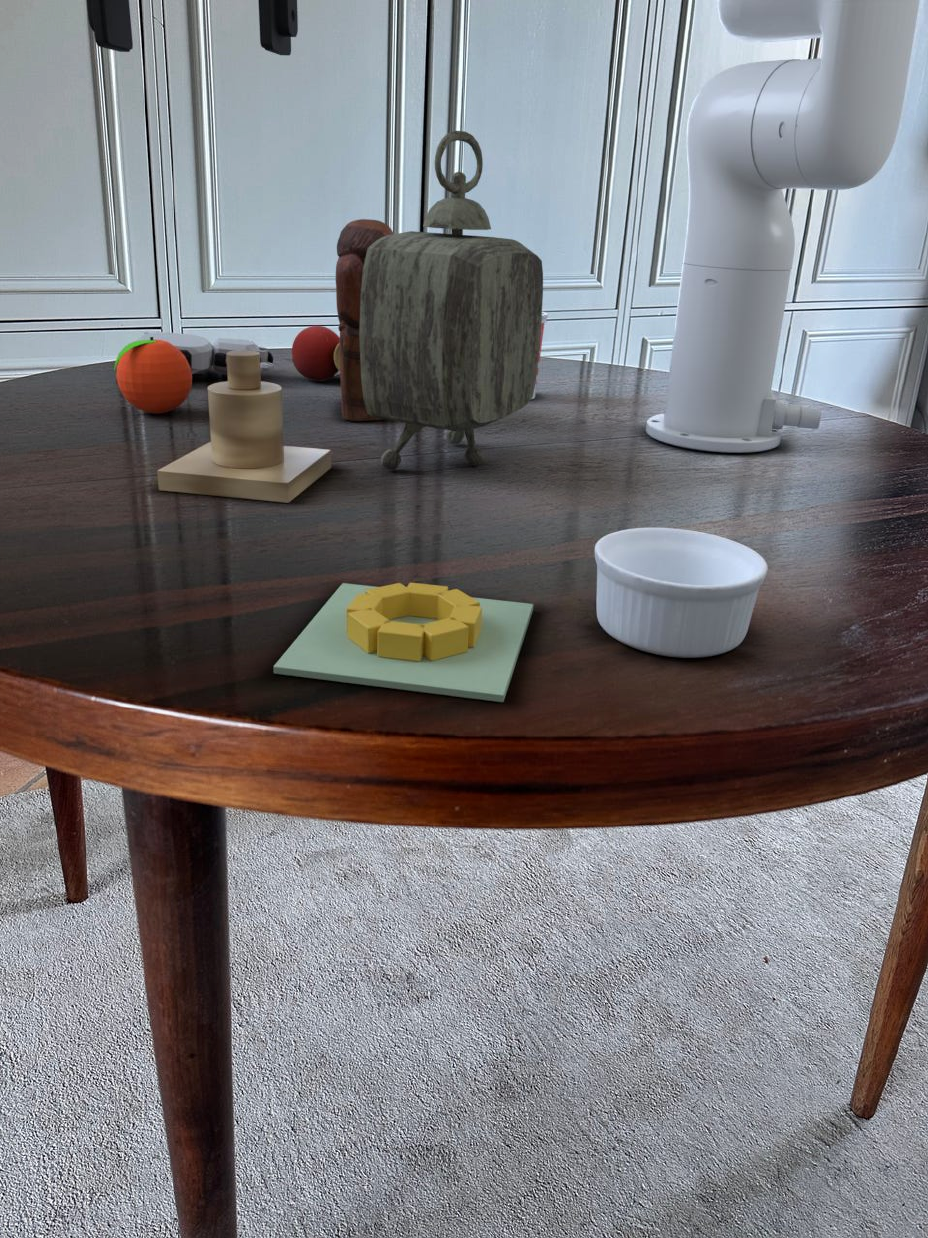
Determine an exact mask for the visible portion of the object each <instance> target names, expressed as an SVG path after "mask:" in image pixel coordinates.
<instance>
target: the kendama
mask: <svg viewBox="0 0 928 1238" xmlns="http://www.w3.org/2000/svg"><path fill="white" fill-rule="evenodd" d="M339 338H340V335H338V334H337V333H336V332H335V331H334V330H332V329H330V328H328V327H325V326H323V325H311V326H307V327H306V328H303V329H302V330H301V331H300V332H299V333H298V334H297V335H296V337H295V338H294V340H293V341H292V346H291V356H292V357H291V361H292V364H293V366H294V368H295V369H296V372H298V374H300V375H301V376H302V377H303V378H305V379H307V380H310V381H314V382H324V381H328V380H330V379H334V378H336V377H340V373H339V372H340V348H339ZM337 373H339V374H337Z"/></svg>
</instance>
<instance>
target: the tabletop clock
mask: <svg viewBox="0 0 928 1238" xmlns="http://www.w3.org/2000/svg"><path fill="white" fill-rule="evenodd" d="M457 141H458V142H464V143H466V144H468V145H469V146H470V147H471V150H472V151H473V153H474V156H475V160H476V171H475V174H474V175H473V177H472V178H471V179H470V180H469V181H467V176H466V174H465V173H464V172H462V171H456V172H453V174H452V176H451V181H450V180H449V179H447V178H446V176H445V175H444V173H443V172H442V170H443V169H442V157H443V155H444V153H445V150H446V149H447V148H448V145H449V144H451V143H452V142H457ZM480 146H481V145H480V143H479V142H478V140H477V139H476V138H475V136H474V135H472V134H471V133H469V132H468V131H463V130H453V131H449V132H447V133H446V134H445V135H444V136H443V137H442V138H441V139H440V141H439V143H438V145H437V147H436V151H435V155H434V171H435V176H436V179H437V181H438V184H439V185H440V186H441V187H442V188H443V189H444V190H445V191H447V192H448V193H451V197H446V198H442V199H439V200H437V201H436V202H435V203H434V204H433V205H432V206H431V207H430V209H429V210H428V212H427V213H426V216H425V219H424V222H423V225H422V227H423V228H424V227H425V228H431V229H442V230H443V229H445V230H450V231H451V232H450V233H441V232H430V231H429V232H426V231H414V230H413V231H412V230H410V231H404V232H399V233H394V234H393V235H388V236H384V237H382V238H380V239H378V240H376V241H375V242H374V243H373V244H372V245H371V246H370V247H368V249H367V254H366V258H365V263H364V267H363V276H362V285H361V301H360V326H359V343H360V366H361V382H362V391H363V399H364V402H365V406H366V410H367V414H369V415H371V416H373V417H375V418H380V419H381V420H387V421H392V422H398V423H399V422H400V423H404V428H403V431H402V433H401V434H400V436H399V438H398V441H397V443H396V444H395V446H394V448H393V449H392V448H389V449H386V450H384V452H383V454H382V455H381V457H380V462H381V464H382V466H383V467H384V468H385V469H387V470H388V471H389V470H396V469H397V468H399V466H400V465H401V462H402V456H401V454H400V453H401V452H402V450H403V449H404V447H405V446H406V445H407V444H408V442H409V441H410V440H411V439H412V437H413V436H415V434H416V433H417V432H419V431H420V430H422V429H423V428H425V427H429V428H433V429H440V430H446V432H445V437H446V440H447V441H448V442H449V443H450V444H453V445H457V444H460V443H461V442H462V441H463V439H464V437H465V438H466V442H467V445H468V448H467V449H466V450H465V452H464V455H463V458H464V461H465V463H466V464H467V465H468V466H470V467H478V466H480V465H481V464H482V463H483V460H484V452H483V451H482V449H481V448H479V447H478V446H476V439H475V431H474V430H475V429H478V428H482V427H485V426H488V425H490V424H492V423H495V422H497V421H500V420H501V419H504V418H506V417H508V416H510V415H512V414H514V413H516V412H518V411H520V410H521V409H523V408H525V407H526V406H527V405H528V404H529V403H530V401H531V400H532V399H531V398H532V397H533V392H534V388H535V383H536V376H537V369H538V358H539V347H540V336H541V322H542V312H543V300H544V299H543V298H544V271H543V270H544V269H543V261H542V259H541V258H540V257H539V255H537V254H536V253H534V252H533V251H532V250H531V249H530V248H528V247H527V246H525V245H524V244H523V243H521V242H520V241H518V240H515V239H513V238H504V237H494V236H483V235H468V234H464V230H467V231H489V230H492V225H491V222H490V218H489V216H488V214H487V212H486V209H484V207H483V206H482V205H481V204H480V203H479V202H478V201H476V200H473V199H470V198H467V197H466V194H467V193H469V192H471V191H472V190H473V189H475V188H476V187H477V186H478V184H479V182H480V179H481V177H482V173H483V168H484V167H483V166H484V163H483V160H484V159H483V151H482V149H481V147H480Z"/></svg>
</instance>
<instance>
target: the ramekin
mask: <svg viewBox="0 0 928 1238" xmlns="http://www.w3.org/2000/svg"><path fill="white" fill-rule="evenodd" d="M594 559H595V564H596V599H595V601H596V618H597V621H598V623H599V626H601V628H602V629H603V631H605V632H606V633H607V634H608V635H609V636H611V637H612V638H613V639H614V640H616V641H618V642H619V643H621V644H624V645H625V646H628V647H630V648H633V649H636V650H639V651H642V652H646V653H650V654H654V655H657V656H663V657H669V658H684V659H686V658H687V659H695V658H696V659H697V658H707V657H708V658H709V657H713V656H714V657H715V656H718V655H722V654H725V653H728V652H730V651H731V650H734V649H735V648H737V647H738V646H740V644H742V642H743V641H744V639H745V638H746V635H747V633H748V631H749V627H750V624H751V620H752V616H753V613H754V609H755V604H756V602H757V598H758V594H759V591H760V587H761V586H762V585H763V584H764V582H765V579H766V576H767V573H768V569H769V568H768V567H769V566H768V564H767V562H766V559H765V558H764V557H763V556H762V555H761V554H760V553H758V552H757V551H755V550H754V549H752V548H750V547H748V546H747V545H745V544H742V543H740V542H737V541H735V540H732V539H729V538H727V537H723V536H720V535H716V534H712V533H707V532H702V531H696V530H689V529H683V528H682V529H681V528H672V527H636V528H628V529H621V530H619V531H615V532H610V533H609V534H606V535H604V536H602V537H601V538H600V539H599V540H598V541H597V542H596V543H595V545H594Z"/></svg>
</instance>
